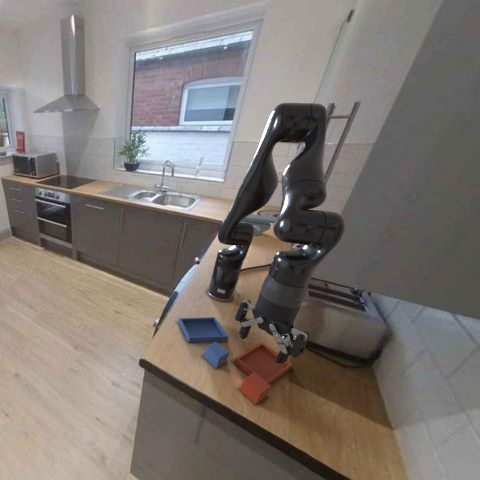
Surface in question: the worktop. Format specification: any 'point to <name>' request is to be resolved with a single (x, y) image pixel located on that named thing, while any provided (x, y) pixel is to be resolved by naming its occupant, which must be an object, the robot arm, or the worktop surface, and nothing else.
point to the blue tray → (202, 329)
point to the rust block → (255, 388)
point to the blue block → (216, 354)
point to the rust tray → (262, 363)
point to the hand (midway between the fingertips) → (260, 349)
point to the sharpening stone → (259, 222)
